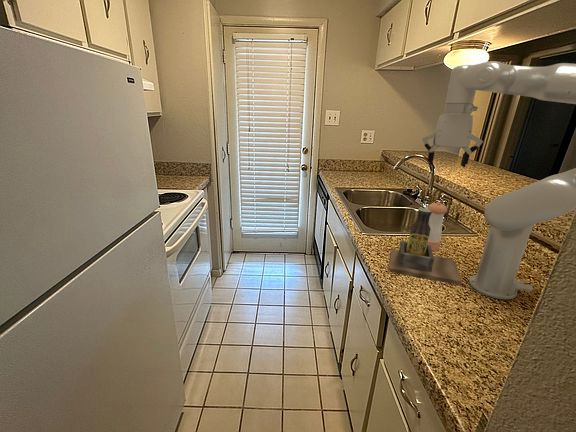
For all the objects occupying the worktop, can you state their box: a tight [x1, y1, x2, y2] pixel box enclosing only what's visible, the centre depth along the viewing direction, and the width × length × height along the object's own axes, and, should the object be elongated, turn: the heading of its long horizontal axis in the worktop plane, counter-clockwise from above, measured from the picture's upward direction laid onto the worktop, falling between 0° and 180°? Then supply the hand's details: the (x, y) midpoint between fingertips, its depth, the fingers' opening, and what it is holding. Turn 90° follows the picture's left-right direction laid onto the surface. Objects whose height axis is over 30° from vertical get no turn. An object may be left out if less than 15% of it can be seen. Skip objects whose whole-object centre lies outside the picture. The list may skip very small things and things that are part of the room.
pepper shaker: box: [427, 201, 448, 251], centre depth 117 cm, size 7×7×19 cm
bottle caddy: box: [388, 240, 463, 286], centre depth 103 cm, size 22×16×6 cm
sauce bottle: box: [406, 207, 432, 256], centre depth 101 cm, size 6×6×20 cm
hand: (446, 165), depth 96 cm, fingers open, 9 cm apart
